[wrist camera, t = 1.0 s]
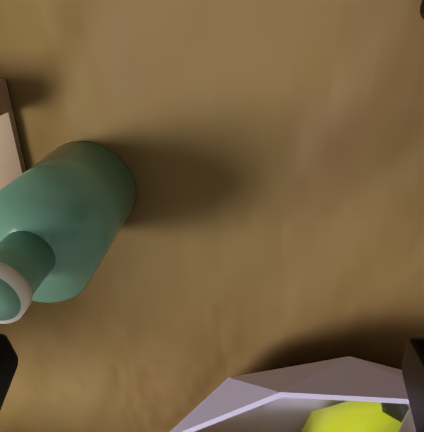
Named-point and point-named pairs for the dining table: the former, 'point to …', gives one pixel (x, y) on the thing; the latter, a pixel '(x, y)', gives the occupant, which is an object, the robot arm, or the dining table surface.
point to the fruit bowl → (307, 400)
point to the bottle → (60, 224)
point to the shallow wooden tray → (9, 141)
